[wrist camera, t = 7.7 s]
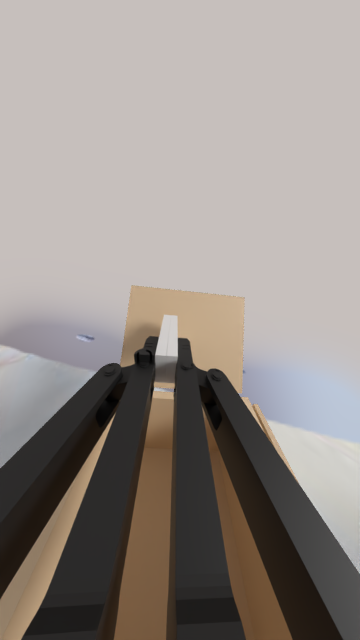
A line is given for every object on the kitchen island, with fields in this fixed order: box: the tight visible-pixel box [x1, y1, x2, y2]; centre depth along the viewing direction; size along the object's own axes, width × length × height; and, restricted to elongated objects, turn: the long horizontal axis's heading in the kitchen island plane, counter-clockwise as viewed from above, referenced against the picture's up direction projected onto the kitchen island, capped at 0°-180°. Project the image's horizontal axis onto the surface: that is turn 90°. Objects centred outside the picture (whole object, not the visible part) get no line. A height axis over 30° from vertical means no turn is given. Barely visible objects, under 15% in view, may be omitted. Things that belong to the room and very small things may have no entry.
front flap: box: [120, 285, 244, 393], centre depth 16 cm, size 15×1×12 cm
